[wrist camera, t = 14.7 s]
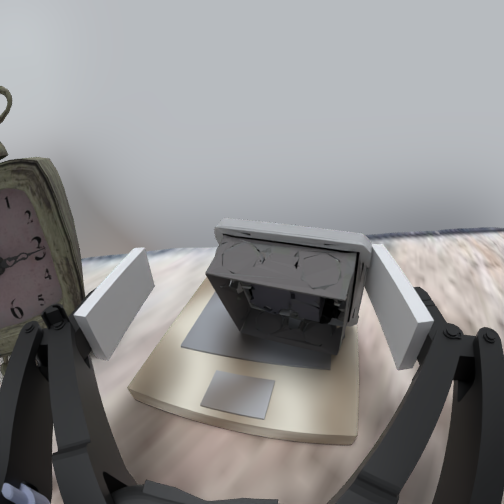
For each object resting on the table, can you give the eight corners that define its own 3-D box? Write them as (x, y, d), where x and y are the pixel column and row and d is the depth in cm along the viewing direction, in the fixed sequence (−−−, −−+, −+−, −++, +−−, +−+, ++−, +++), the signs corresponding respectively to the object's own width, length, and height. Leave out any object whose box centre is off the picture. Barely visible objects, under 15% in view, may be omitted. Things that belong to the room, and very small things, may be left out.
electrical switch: (358, 320, 20) (375, 218, 14) (344, 377, 16) (368, 281, 11) (250, 299, 24) (228, 203, 18) (223, 346, 20) (184, 251, 14)
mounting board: (348, 266, 31) (350, 254, 30) (351, 444, 12) (358, 434, 12) (229, 258, 35) (228, 246, 34) (134, 399, 16) (126, 386, 15)
